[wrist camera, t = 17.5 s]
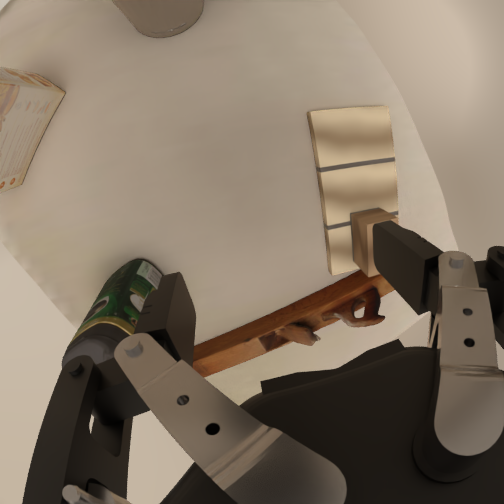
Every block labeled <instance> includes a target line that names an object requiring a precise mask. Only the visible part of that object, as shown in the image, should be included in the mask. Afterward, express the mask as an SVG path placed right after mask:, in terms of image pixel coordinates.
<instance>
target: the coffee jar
mask: <svg viewBox="0 0 504 504" xmlns="http://www.w3.org/2000/svg"><path fill="white" fill-rule="evenodd" d="M161 277H162V275H161V274H160V272H159V271H158V270H157V269H156V268H155V267H154V266H152V265H151V264H150V263H148V262H146V261H144V260H134V261H131V262H129V263H127V264H126V265H124V266H123V267H121V268H120V269H119V270H118V271H116V272H115V273H114V274H113V275H112V276H111V277H110V278H109V279H108V280H107V282H106V283H105V285H104V286H103V288H102V290H101V291H100V293H99V295H98V297H97V299H96V300H95V302H94V304H93V305H92V307H91V309H90V311H89V312H88V314H87V316H86V317H85V319H84V321H83V323H82V324H81V326H80V327H79V329H78V331H77V332H76V334H75V336H74V337H73V339H72V341H71V342H70V344H69V346H68V347H67V350H66V352H65V355H64V356H63V360H62V369H63V367H64V366H65V365H66V363H68V362H69V361H70V360H71V359H73V358H75V357H77V356H80V355H88V356H90V357H91V358H92V359H93V361H94V362H95V364H99V363H101V362H104V361H106V360H109V359H111V358H114V352H115V349H116V347H117V346H118V344H119V343H120V342H121V341H122V340H124V339H125V338H127V337H128V336H131V335H133V334H134V331H135V327H136V324H137V321H138V319H139V316H140V313H141V310H142V308H143V304H144V301H145V299H146V297H147V296H148V295H149V294H150V293H151V292H152V291H153V290H157V288H158V285H159V282H160V279H161Z"/></svg>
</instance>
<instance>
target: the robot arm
mask: <svg viewBox="0 0 504 504" xmlns="http://www.w3.org/2000/svg"><path fill="white" fill-rule="evenodd" d="M112 1H113V2H114V3H115V5H116V6H117V7H118V8H119V9H120V10H121V11H122V13H123V14H124V15H125V16H126V17H127V19H128V20H129V21H130V22H131V23H132V24H133V26H134V27H135V28H136V29H137V30H138V31H139V32H141V33H142V34H144V35H147V36H149V37H156V38H161V37H169V36H173V35H176V34H179V33H181V32H183V31H185V30H186V29H188V28H189V27H190V26H192V25H193V24H194V23H195V22H196V21H197V20H198V18H199V16H200V15H201V13H202V10H203V0H112ZM372 233H373V259H374V264H375V267H376V269H377V271H378V272H379V273H380V274H381V275H382V276H383V277H384V278H385V279H386V280H387V281H388V283H389V284H390V285H391V286H392V287H393V288H394V289H395V290H396V291H397V292H398V293H399V294H400V295H401V297H402V298H403V299H404V300H405V301H406V302H407V303H408V304H409V305H410V306H411V308H412V309H413V310H414V311H415V312H416V313H417V314H418V315H420V314H423V313H425V312H428V311H430V312H431V316H430V322H429V334H428V343H427V347H404V346H403V345H402V343H401V342H400V340H399V339H397V340H394V341H392V342H389V343H386V344H384V345H381V346H378V347H376V348H373V349H370V350H368V351H366V352H364V353H363V354H361V355H359V356H358V357H356V358H355V359H353V360H351V361H349V362H348V363H346V364H344V365H343V366H341V367H339V368H336V369H331V370H321V371H309V372H297V373H293V374H289V375H285V376H281V377H277V378H273V379H269V380H264V381H260V382H261V387H262V392H261V393H259V394H257V395H255V396H253V397H251V398H249V399H248V400H246V401H245V402H244V403H242V404H241V405H240V406H238V405H237V404H236V403H234V402H233V401H232V400H230V399H229V398H228V397H227V396H225V395H224V394H223V393H222V392H220V391H219V390H218V389H217V388H215V387H214V386H213V385H212V384H211V383H209V382H208V381H207V380H206V379H205V378H203V377H202V376H201V375H200V374H199V373H198V372H196V371H195V370H194V369H193V354H194V339H195V325H196V313H195V308H194V305H193V302H192V299H191V297H190V294H189V292H188V289H187V287H186V284H185V281H184V279H183V276H182V274H181V273H180V272H176V273H172V274H168V275H164V276H162V277H161V279H160V282H159V285H158V288H157V290H153V291H152V292H151V293H150V294H149V295H148V296H147V297H146V299H145V301H144V304H143V308H142V310H141V313H140V316H139V319H138V321H137V324H136V327H135V331H134V334H133V335H131V336H128V337H127V338H125V339H124V340H122V341H121V342H120V343H119V344H118V346H117V347H116V349H115V352H114V358H111V359H109V360H106V361H104V362H101V363H99V364H95V362H94V361H93V359H92V358H91V357H90V356H88V355H80V356H77V357H75V358H73V359H71V360H70V361H69V362H68V363H66V365H65V366H64V367H63V369H62V371H61V373H60V375H59V378H58V381H57V383H56V386H55V388H54V391H53V394H52V396H51V399H50V402H49V405H48V408H47V410H46V413H45V416H44V419H43V422H42V426H41V429H40V432H39V435H38V439H37V442H36V446H35V449H34V453H33V457H32V461H31V464H30V469H29V473H28V477H27V482H26V487H25V492H24V497H23V503H22V504H131V503H130V502H129V501H127V498H126V497H127V478H128V462H129V451H130V440H131V430H132V421H133V416H136V415H139V414H141V413H144V412H147V411H150V410H151V411H152V412H153V413H154V415H155V416H156V417H157V419H158V420H159V421H160V422H161V424H162V425H163V426H164V427H165V429H166V430H167V431H168V432H169V433H170V434H171V436H172V437H173V438H174V439H175V440H176V442H177V443H179V445H180V446H181V447H182V448H183V449H184V451H185V452H186V453H187V454H188V455H189V456H190V457H191V458H192V459H193V460H194V461H195V462H194V463H193V464H192V466H191V467H190V468H189V469H188V470H187V472H186V473H185V474H184V475H183V477H182V478H181V479H180V480H179V482H178V483H177V484H176V485H175V486H174V488H173V489H172V490H171V491H170V492H169V494H168V495H167V496H166V497H165V498H164V499H163V501H162V502H161V503H160V504H504V371H502V370H499V369H498V364H497V351H496V342H495V340H496V341H497V342H498V343H499V344H500V345H501V347H502V348H503V349H504V247H503V246H494V247H491V248H489V250H488V253H487V259H486V260H484V261H476V262H474V261H473V259H472V258H471V257H470V256H469V255H467V254H465V253H463V252H459V251H447V252H443V251H441V250H440V249H438V248H437V247H436V246H434V245H433V244H431V243H430V242H427V240H426V239H424V238H423V237H422V238H421V236H420V235H418V234H417V233H415V232H414V231H411V230H408V229H405V228H402V227H401V226H399V225H398V224H396V223H395V222H393V221H392V220H387V221H383V222H379V223H375V224H374V225H373V228H372ZM91 414H92V415H93V416H94V422H93V426H92V431H91V433H90V430H89V422H90V418H91Z"/></svg>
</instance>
